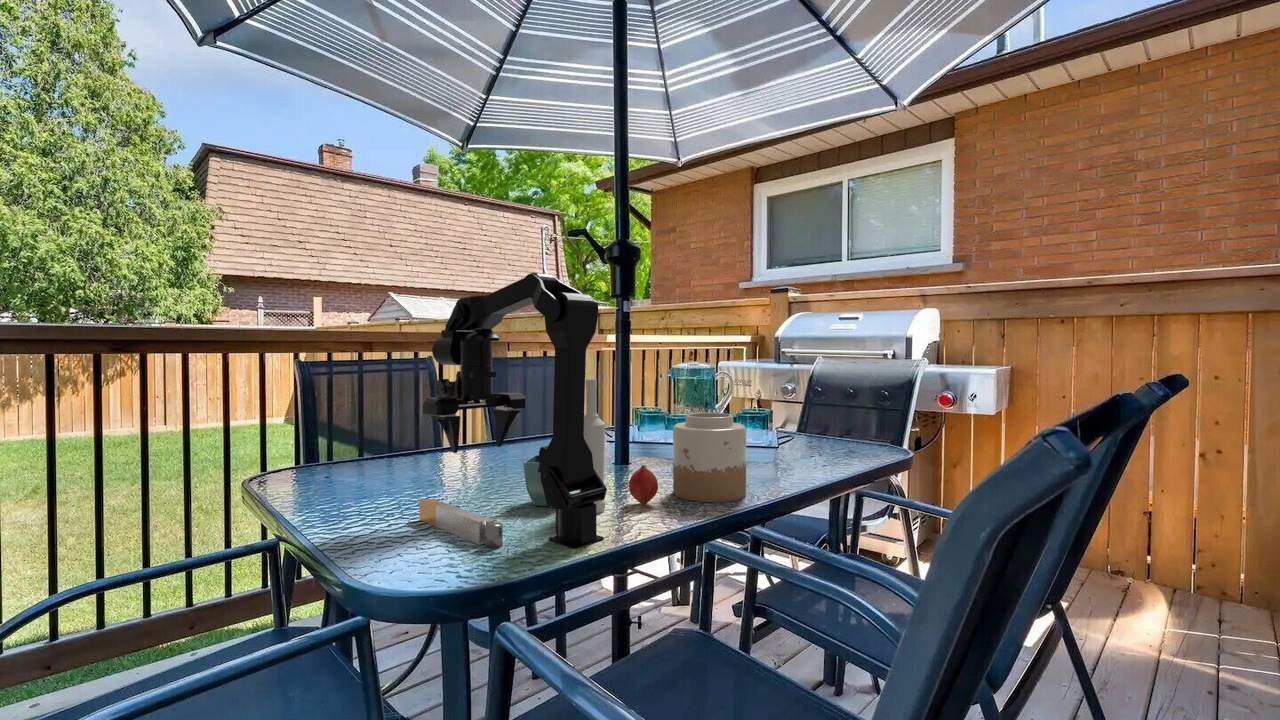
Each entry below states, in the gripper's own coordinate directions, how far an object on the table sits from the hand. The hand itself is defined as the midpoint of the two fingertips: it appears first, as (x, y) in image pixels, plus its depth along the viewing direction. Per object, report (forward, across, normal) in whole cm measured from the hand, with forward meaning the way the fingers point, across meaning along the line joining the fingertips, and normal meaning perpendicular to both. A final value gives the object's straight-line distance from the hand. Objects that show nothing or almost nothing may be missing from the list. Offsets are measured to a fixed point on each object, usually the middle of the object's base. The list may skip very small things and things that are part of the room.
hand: (477, 449), depth 116 cm
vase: (+12, -42, +22) cm, 49 cm away
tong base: (+12, +9, +9) cm, 17 cm away
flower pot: (+12, -14, +4) cm, 19 cm away
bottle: (+12, -16, +14) cm, 25 cm away
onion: (+12, -26, +18) cm, 34 cm away
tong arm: (+12, +9, +7) cm, 17 cm away
